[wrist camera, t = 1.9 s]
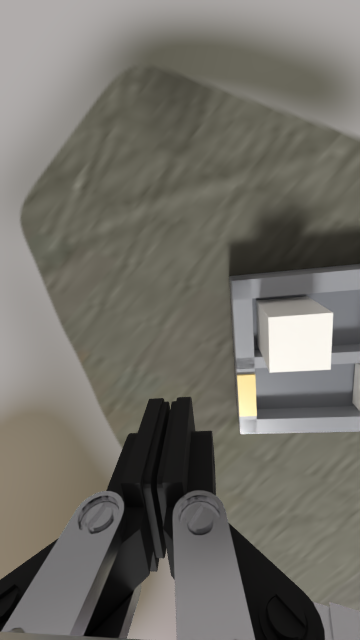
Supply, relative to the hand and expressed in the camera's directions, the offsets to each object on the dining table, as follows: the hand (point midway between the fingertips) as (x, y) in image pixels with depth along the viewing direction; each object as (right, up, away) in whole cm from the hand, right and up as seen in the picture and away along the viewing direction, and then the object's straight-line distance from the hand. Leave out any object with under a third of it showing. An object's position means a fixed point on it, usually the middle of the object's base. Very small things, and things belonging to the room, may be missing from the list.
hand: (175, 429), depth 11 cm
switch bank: (+13, +2, +14) cm, 19 cm away
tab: (+9, +4, +12) cm, 16 cm away
